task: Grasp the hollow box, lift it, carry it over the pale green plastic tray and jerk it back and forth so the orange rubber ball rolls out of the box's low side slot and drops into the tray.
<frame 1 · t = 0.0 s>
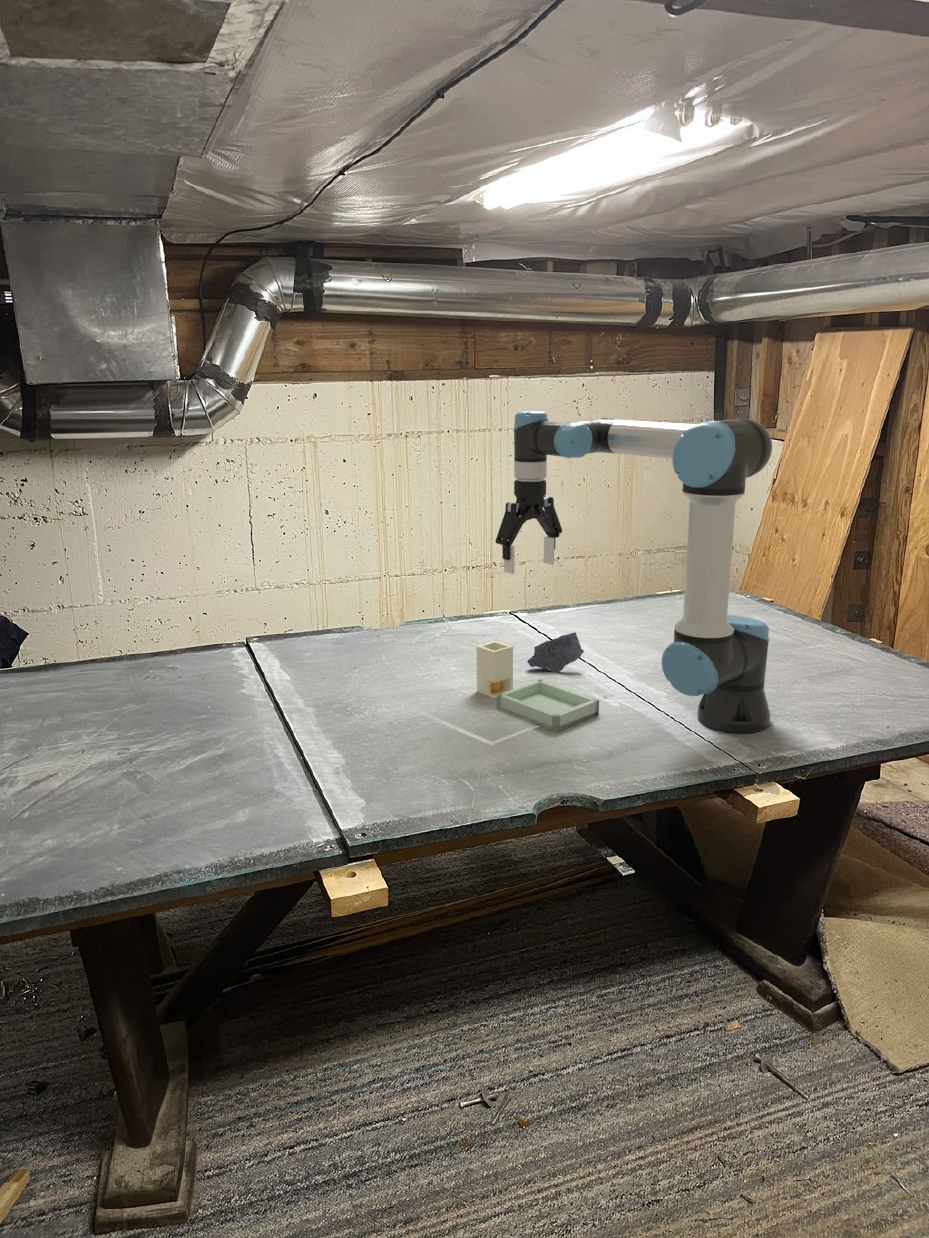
hand: (529, 568, 214), 28 cm above the table, fingers open, 13 cm apart
tray: (547, 711, 201), on the table
hollow box: (494, 694, 212), on the table, touching ball
ball: (494, 691, 212), point 1 cm above the table, touching hollow box
stone: (554, 671, 227), on the table
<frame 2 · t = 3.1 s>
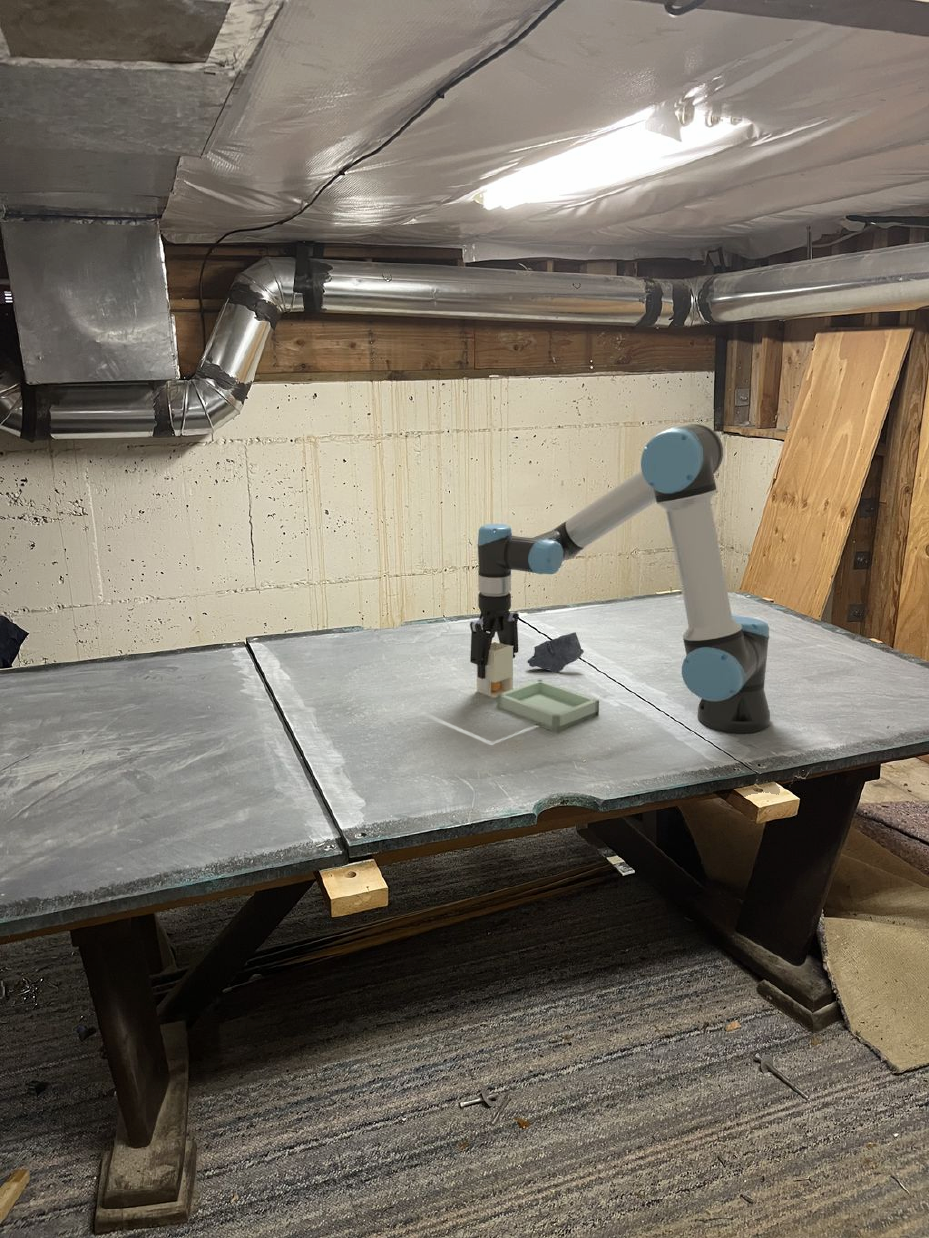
hand: (494, 686, 212), 2 cm above the table, fingers closed on hollow box, 6 cm apart
hollow box: (494, 694, 212), on the table, touching ball, gripper
ball: (494, 691, 212), point 1 cm above the table, tilted 7°, touching hollow box
everything else where it was.
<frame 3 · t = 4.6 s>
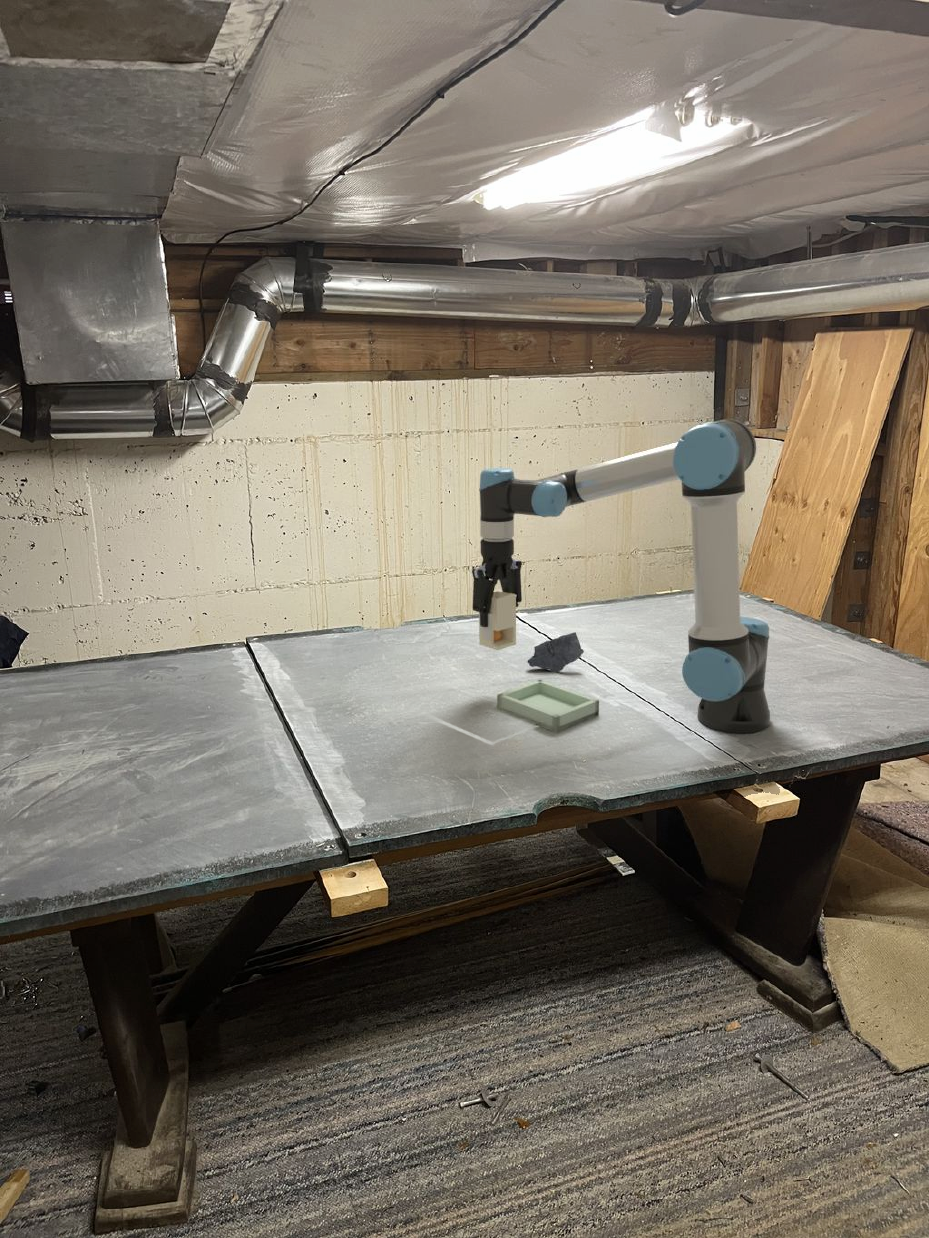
hand: (497, 636, 207), 15 cm above the table, fingers closed on hollow box, 6 cm apart
hollow box: (497, 644, 208), point 13 cm above the table, touching ball, gripper
ball: (497, 640, 208), point 14 cm above the table, tilted 29°, touching hollow box
everything else where it was.
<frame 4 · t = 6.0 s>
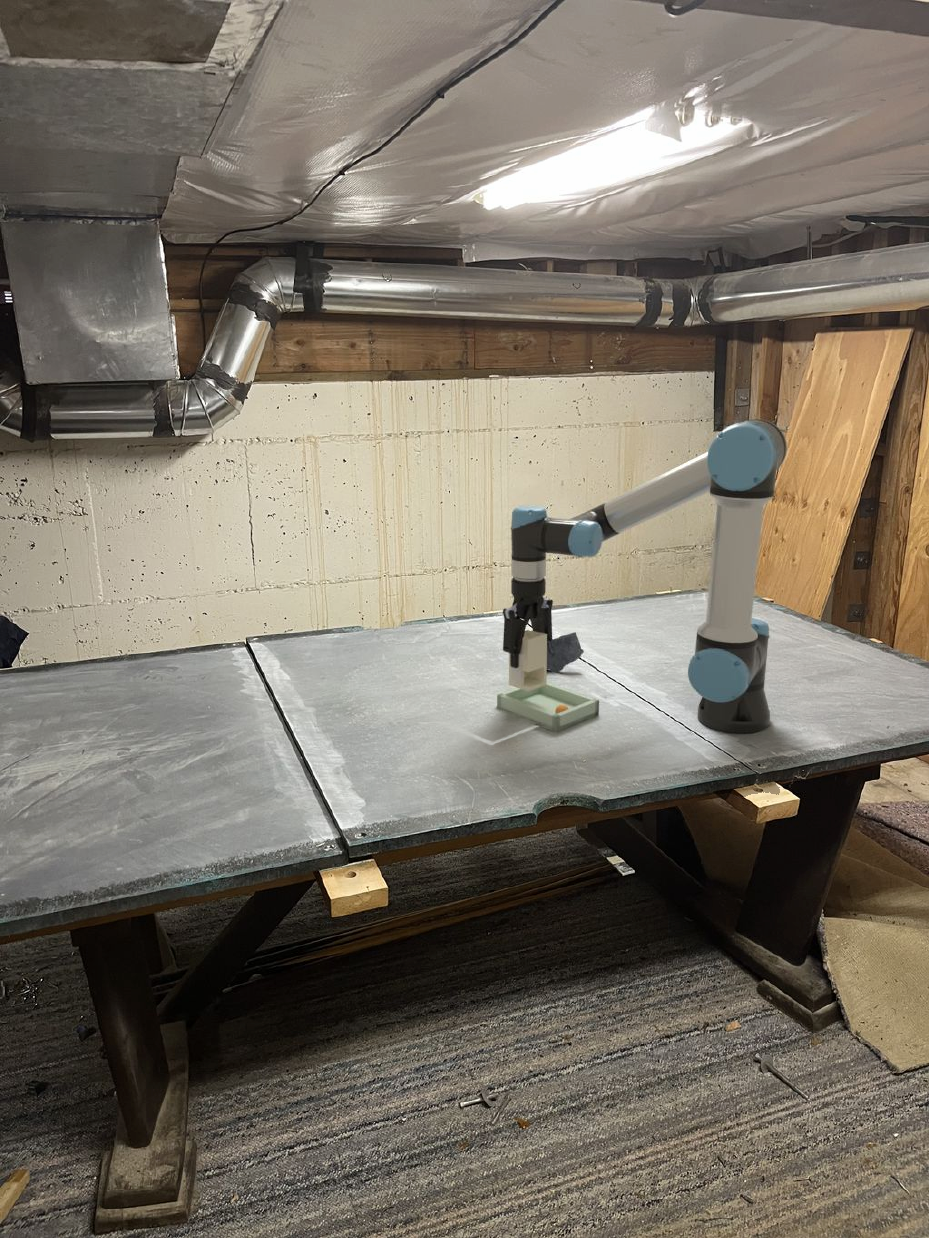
hand: (527, 676, 203), 7 cm above the table, fingers closed on hollow box, 6 cm apart
hollow box: (527, 684, 203), point 5 cm above the table, touching gripper
ball: (561, 704, 195), point 4 cm above the table, tilted 157°, touching tray
everything else where it was.
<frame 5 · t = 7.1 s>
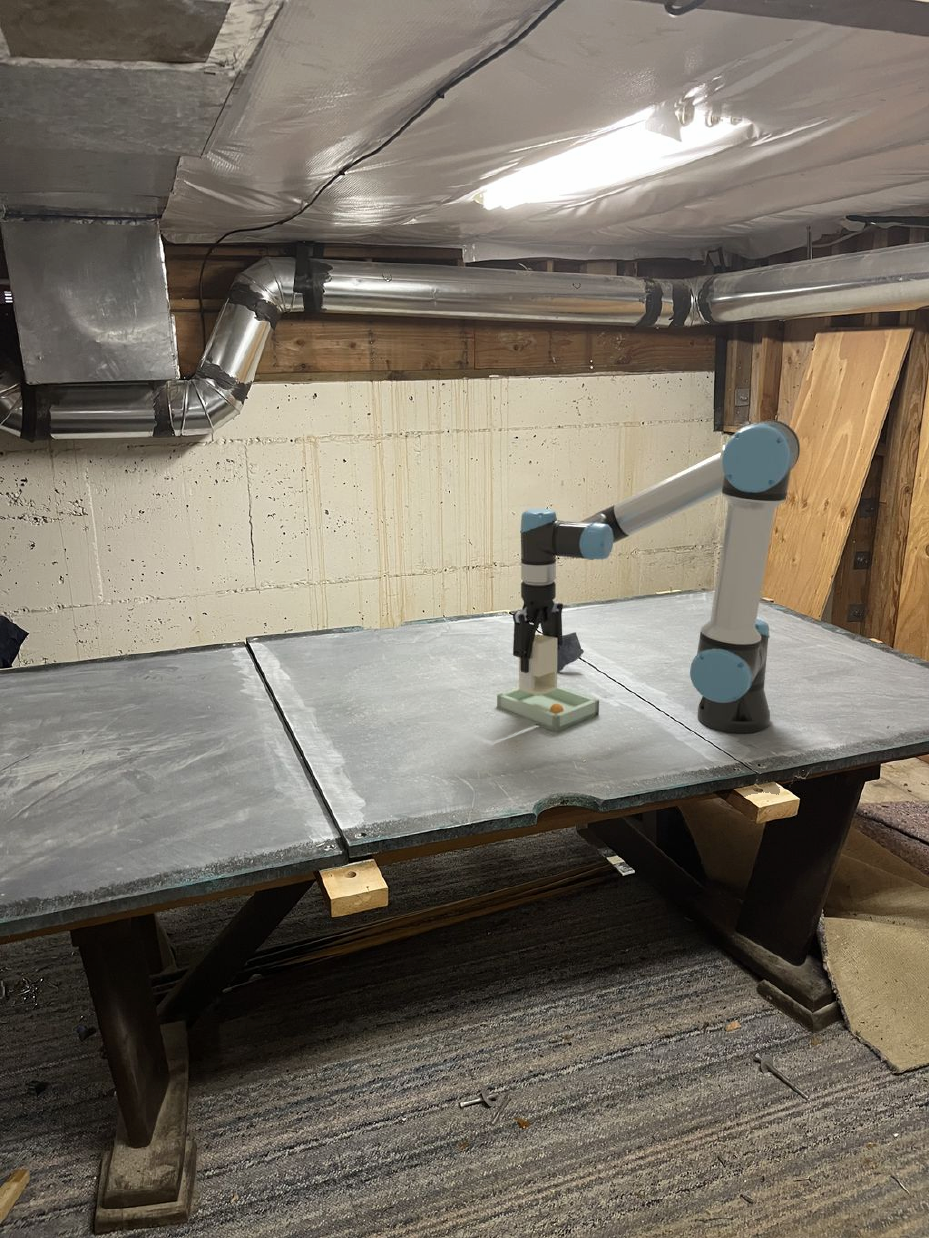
hand: (538, 681, 200), 7 cm above the table, fingers closed on hollow box, 6 cm apart
hollow box: (538, 689, 201), point 5 cm above the table, touching gripper
ball: (551, 706, 196), point 3 cm above the table, tilted 111°, touching tray
everything else where it was.
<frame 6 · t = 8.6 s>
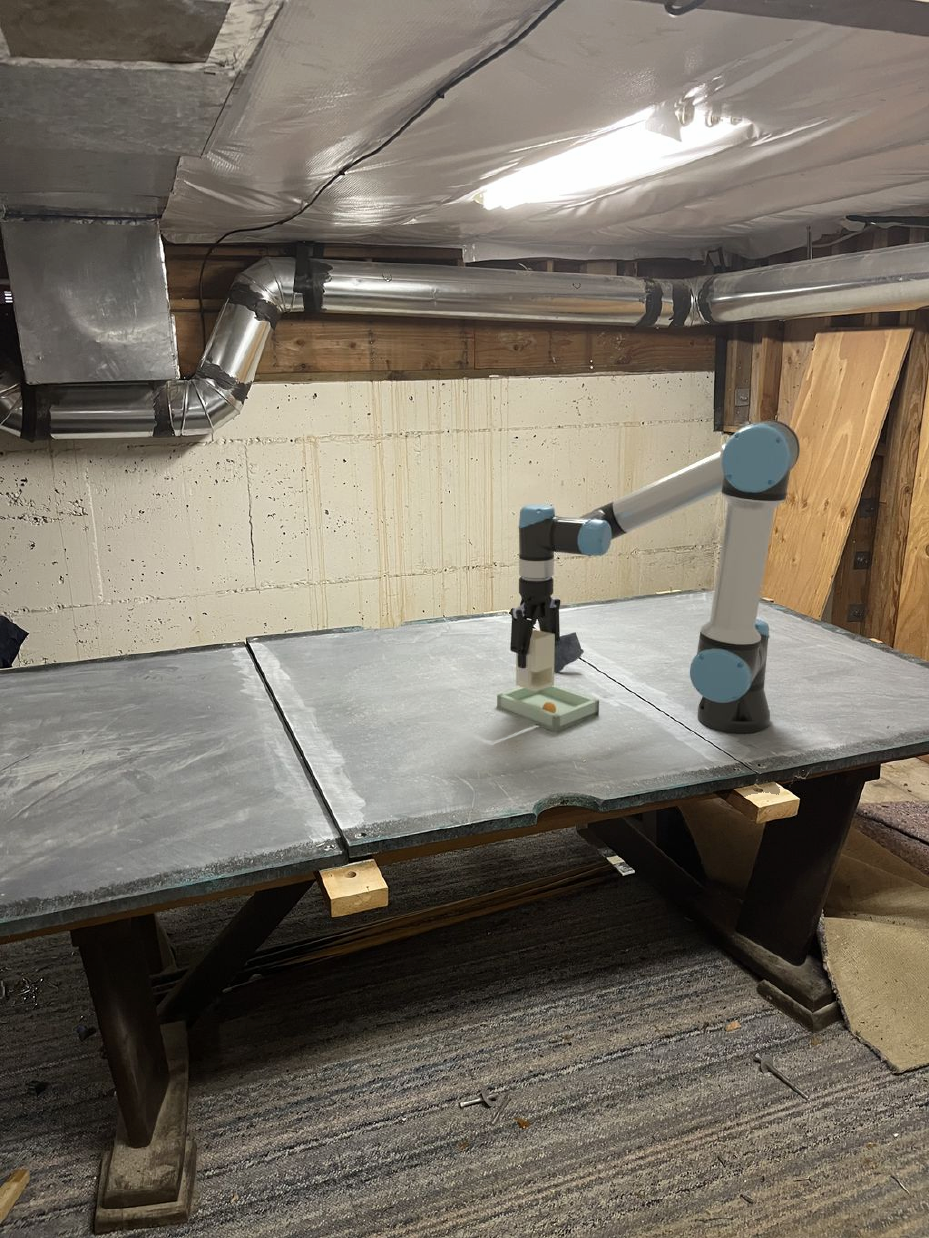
hand: (535, 676, 201), 8 cm above the table, fingers closed on hollow box, 6 cm apart
hollow box: (535, 684, 201), point 6 cm above the table, touching gripper
ball: (545, 712, 198), point 1 cm above the table, tilted 46°, touching tray
everything else where it was.
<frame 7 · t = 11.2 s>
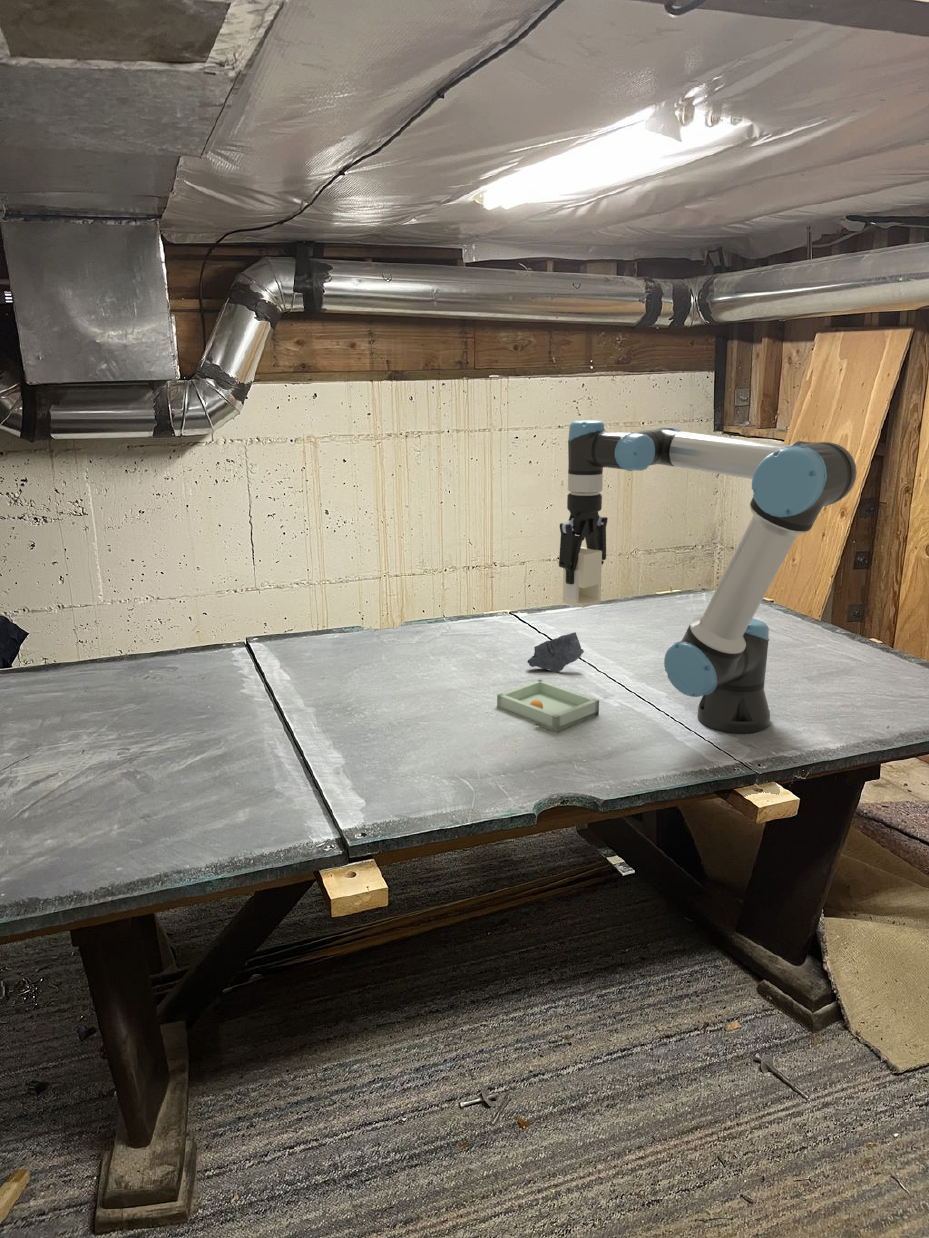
hand: (582, 594, 203), 25 cm above the table, fingers closed on hollow box, 6 cm apart
hollow box: (581, 602, 203), point 23 cm above the table, touching gripper
ball: (542, 708, 198), point 2 cm above the table, tilted 75°, touching tray
everything else where it was.
at the end: ball inside the target area on the tray (3.5 cm from its centre), point 2.3 cm above the tray's base; ball touching tray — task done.
